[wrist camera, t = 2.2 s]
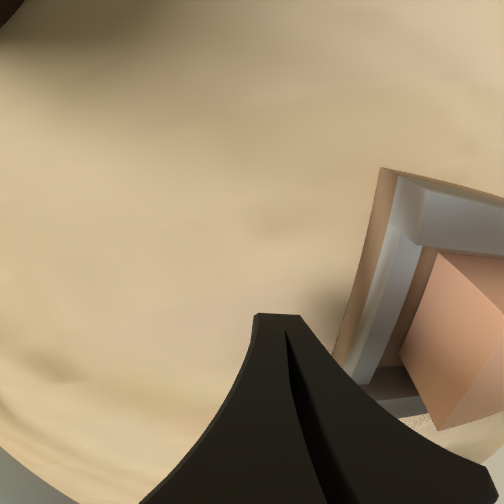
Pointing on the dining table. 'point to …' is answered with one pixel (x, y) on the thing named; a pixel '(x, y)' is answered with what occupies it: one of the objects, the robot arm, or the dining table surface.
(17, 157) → the dining table surface
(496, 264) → the salmon orange block
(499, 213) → the grey rectangular tray
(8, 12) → the coffee mug
